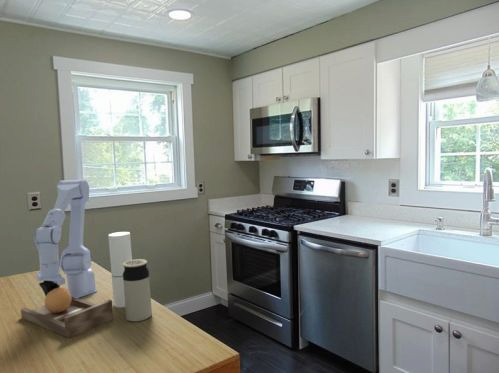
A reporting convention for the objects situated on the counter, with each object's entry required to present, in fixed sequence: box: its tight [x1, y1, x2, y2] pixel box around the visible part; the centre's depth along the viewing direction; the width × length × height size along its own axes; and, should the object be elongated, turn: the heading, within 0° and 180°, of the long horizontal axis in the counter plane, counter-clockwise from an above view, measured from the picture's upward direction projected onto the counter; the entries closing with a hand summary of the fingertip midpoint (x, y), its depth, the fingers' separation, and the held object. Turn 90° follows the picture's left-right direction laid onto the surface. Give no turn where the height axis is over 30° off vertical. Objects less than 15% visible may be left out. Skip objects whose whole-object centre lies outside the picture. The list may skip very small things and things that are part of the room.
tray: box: [20, 296, 114, 339], centre depth 124 cm, size 15×28×6 cm, turn 55°
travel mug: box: [123, 258, 153, 322], centre depth 122 cm, size 8×8×18 cm
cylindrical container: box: [107, 231, 133, 308], centre depth 133 cm, size 7×7×25 cm
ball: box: [44, 287, 72, 313], centre depth 126 cm, size 8×8×8 cm
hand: (52, 302), depth 127 cm, fingers closed, pressing on ball
